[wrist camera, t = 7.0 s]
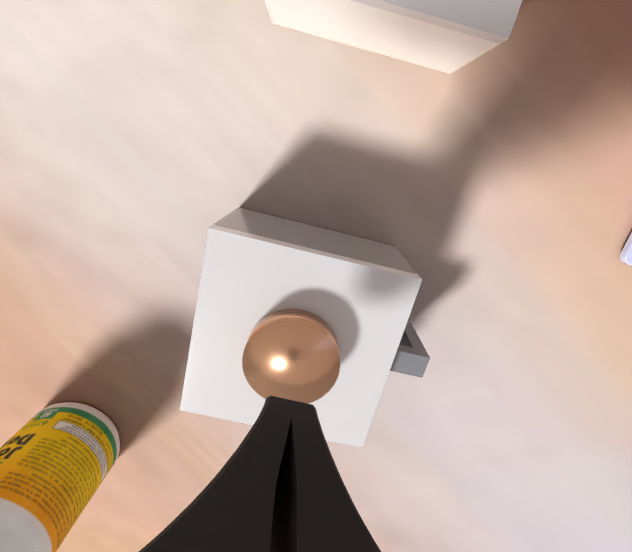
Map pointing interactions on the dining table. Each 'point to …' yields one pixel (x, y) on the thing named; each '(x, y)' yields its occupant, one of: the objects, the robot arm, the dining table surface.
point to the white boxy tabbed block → (305, 294)
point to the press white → (405, 26)
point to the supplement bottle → (52, 474)
